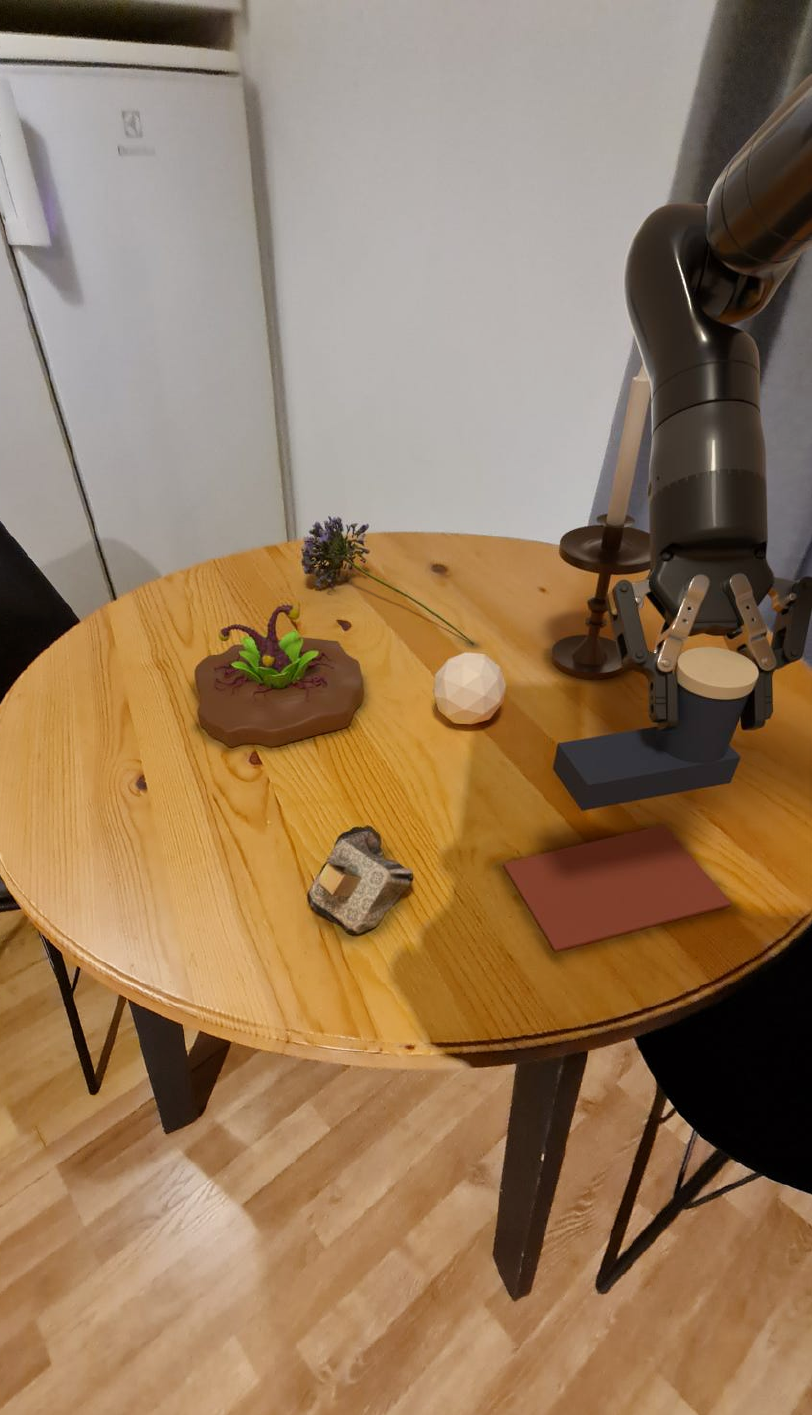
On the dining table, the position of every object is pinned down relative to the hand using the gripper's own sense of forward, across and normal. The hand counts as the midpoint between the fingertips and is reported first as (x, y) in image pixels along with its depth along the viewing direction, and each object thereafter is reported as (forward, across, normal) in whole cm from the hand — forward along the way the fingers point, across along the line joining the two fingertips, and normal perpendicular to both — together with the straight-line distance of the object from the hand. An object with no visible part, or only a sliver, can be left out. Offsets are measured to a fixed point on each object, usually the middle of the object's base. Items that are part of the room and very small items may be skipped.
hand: (710, 728), depth 52 cm
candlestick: (-14, +1, +39) cm, 42 cm away
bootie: (+3, -4, +4) cm, 6 cm away
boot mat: (+12, -3, +12) cm, 17 cm away
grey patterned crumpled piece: (+12, -25, +12) cm, 30 cm away
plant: (-9, -36, +34) cm, 50 cm away
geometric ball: (-6, -14, +30) cm, 34 cm away
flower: (-26, -24, +50) cm, 61 cm away
